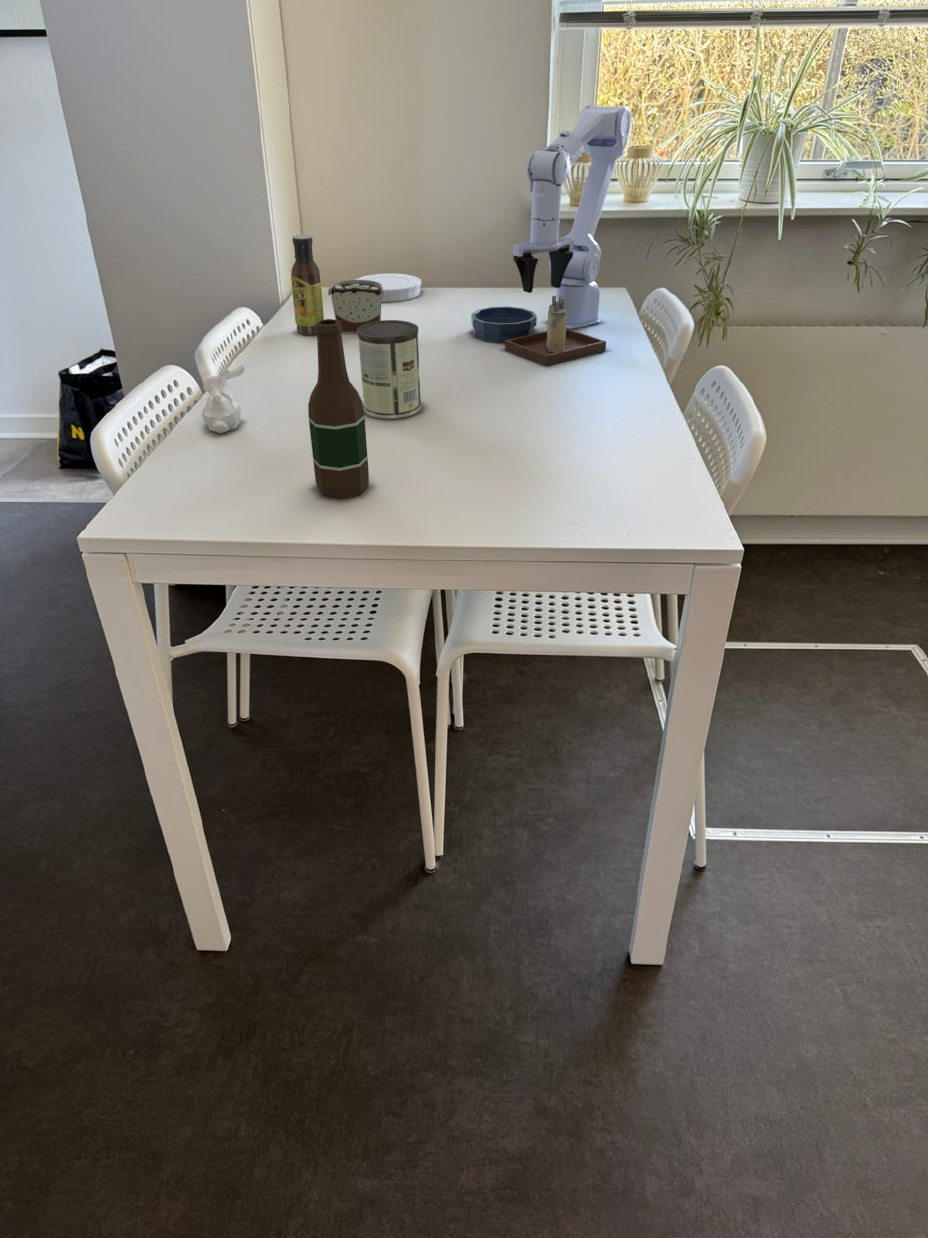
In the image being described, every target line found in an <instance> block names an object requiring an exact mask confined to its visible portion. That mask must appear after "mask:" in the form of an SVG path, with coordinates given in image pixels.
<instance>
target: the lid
mask: <svg viewBox="0 0 928 1238" xmlns="http://www.w3.org/2000/svg"><path fill="white" fill-rule="evenodd" d="M355 280H369V281H375V282H378V283H380V284H381V285H382V287H383V290H384V294H385V296H383V293H382V301H381V303H393V302H394V303H395V302H403V301H408V300H409V301H410V300H412V299H415V298H417V297H419V296H420V294H421V285H422V279H420V277H417V276H415V275H412V274H405V273H376V274H368V275H364V276H361V277H357V278H356V279H355Z"/></svg>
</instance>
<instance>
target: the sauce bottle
mask: <svg viewBox="0 0 928 1238" xmlns="http://www.w3.org/2000/svg"><path fill="white" fill-rule="evenodd" d="M313 243H314V241H313V237H312V235H310V234H297V235H293V236H292V245H293V250H294V259H295V260H294V263H293V265H292V267H291V271H290V273H291V274H290V281H291V291H292V301H293V302H292V303H293V311H294V321H295V324H296V330H297V333H299V334H300V335H301V334H302V335H305V336H317V332H316V331H315V330H314V328H315V323H317V322H319V321H320V320H325V315H324V304H323V292H322V291H323V290H322V280H321V272H320V268H319V266H318V265H317V263H316V262H315V261H314V255H313Z"/></svg>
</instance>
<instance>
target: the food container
mask: <svg viewBox="0 0 928 1238" xmlns="http://www.w3.org/2000/svg"><path fill="white" fill-rule="evenodd" d="M382 293H383V296H385V294H384V290H383V287H382V285H381V284H380V283H378V282H375V281H369V280H356V279H350V280H349V279H347V280H341V281H338V282H334V283H331V284H330V285H329V288H328V293H327V296H330V297H331V303H332V308H333V314H334V318H335V319H334V320H338V321H339V322H341V324H342V327H343V330H342V331H341V334H357V329H358V327H360V326H361V325H364V324H366V323H370V322H375V321H382V302H381V301H382Z"/></svg>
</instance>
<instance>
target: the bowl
mask: <svg viewBox="0 0 928 1238" xmlns="http://www.w3.org/2000/svg"><path fill="white" fill-rule="evenodd" d="M470 317H471V318H470V320H471V321H470V323H471V326H472V333H473V337H474V338H476V339H478V340H482V341H484V342H489V343H490V342H491V343H501V344H502V343H504V344H505V340H510V339H514V338H518V337H523V336H527V335H531V334H535V327H537V322H538V321H537V318H538V316H537V314H536V313H535V311H533V310H529V309H526V308H524V307H515V306H489V307H485V308H480V309H477V310H474V312H472V313H471V315H470Z"/></svg>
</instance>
